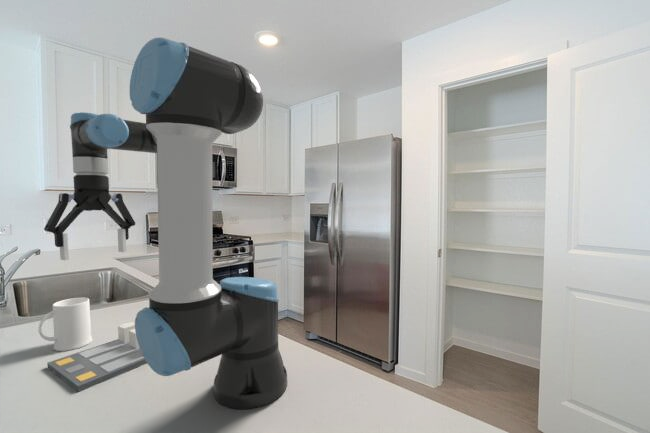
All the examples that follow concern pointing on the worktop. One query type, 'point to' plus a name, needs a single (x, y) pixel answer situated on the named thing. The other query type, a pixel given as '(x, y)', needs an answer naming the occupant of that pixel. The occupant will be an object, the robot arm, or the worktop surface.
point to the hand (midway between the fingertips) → (95, 255)
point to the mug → (70, 324)
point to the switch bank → (97, 364)
